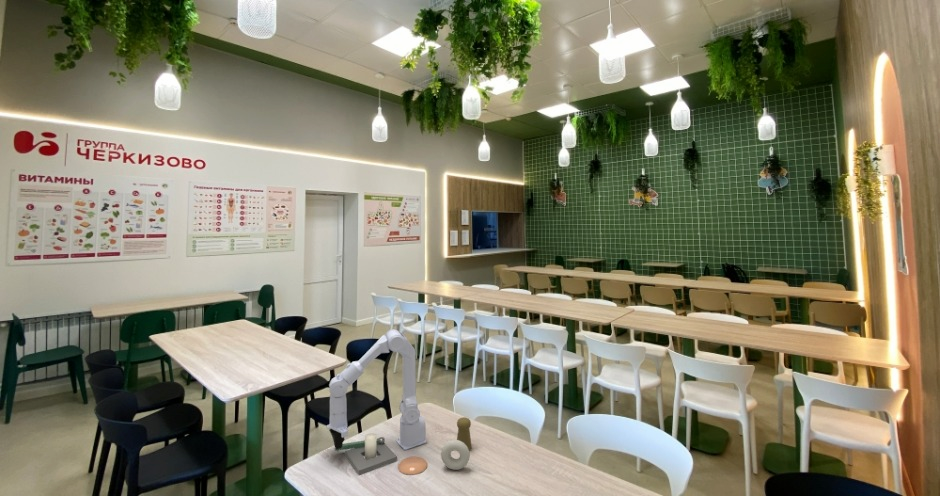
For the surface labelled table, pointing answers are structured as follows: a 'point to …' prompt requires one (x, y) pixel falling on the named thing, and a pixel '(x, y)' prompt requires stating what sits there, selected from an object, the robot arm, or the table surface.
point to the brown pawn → (464, 431)
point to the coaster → (412, 465)
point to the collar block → (365, 465)
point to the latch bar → (360, 444)
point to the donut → (451, 462)
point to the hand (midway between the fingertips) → (338, 448)
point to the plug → (370, 446)
